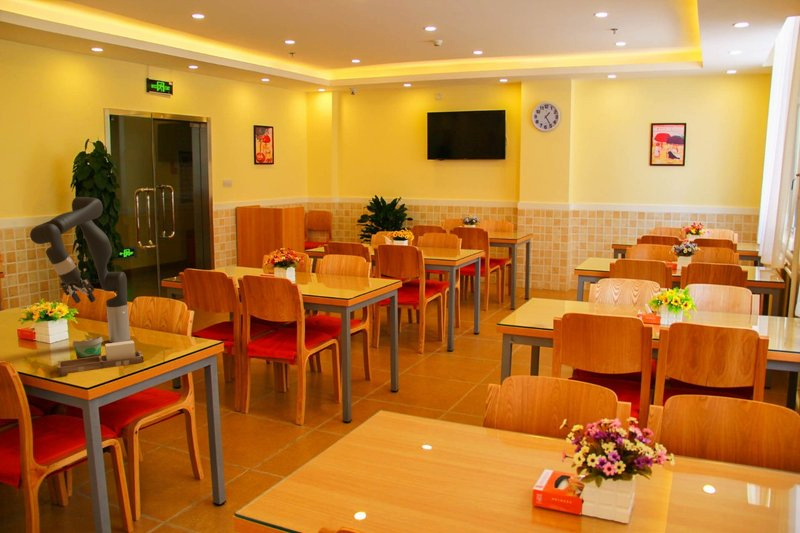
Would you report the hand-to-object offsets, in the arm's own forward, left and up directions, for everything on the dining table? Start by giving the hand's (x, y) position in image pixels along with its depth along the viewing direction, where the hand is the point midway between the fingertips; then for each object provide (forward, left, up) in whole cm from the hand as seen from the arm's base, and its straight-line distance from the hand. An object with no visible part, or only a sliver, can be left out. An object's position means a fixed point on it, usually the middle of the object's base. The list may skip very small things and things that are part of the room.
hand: (85, 301), depth 284 cm
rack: (+6, +3, -27) cm, 28 cm away
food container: (-5, 0, -27) cm, 28 cm away
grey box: (+6, +11, -26) cm, 29 cm away
